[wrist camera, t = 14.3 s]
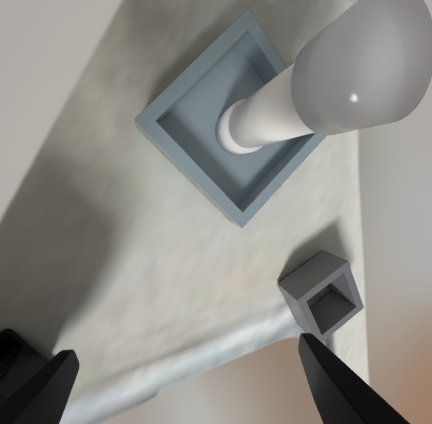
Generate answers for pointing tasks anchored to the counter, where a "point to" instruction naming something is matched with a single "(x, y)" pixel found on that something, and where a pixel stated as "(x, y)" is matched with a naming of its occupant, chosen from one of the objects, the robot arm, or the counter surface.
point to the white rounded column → (340, 79)
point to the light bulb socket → (329, 305)
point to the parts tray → (208, 115)
